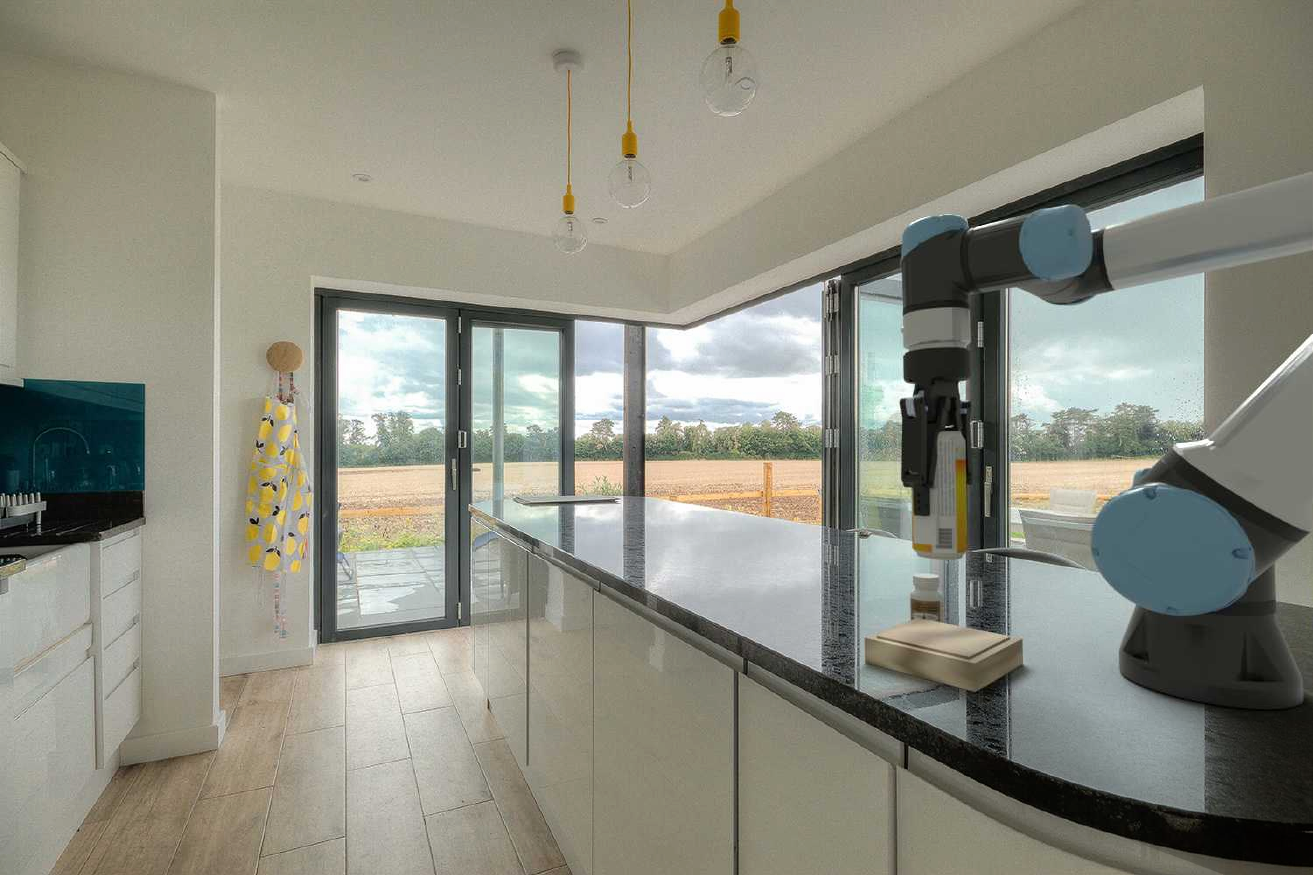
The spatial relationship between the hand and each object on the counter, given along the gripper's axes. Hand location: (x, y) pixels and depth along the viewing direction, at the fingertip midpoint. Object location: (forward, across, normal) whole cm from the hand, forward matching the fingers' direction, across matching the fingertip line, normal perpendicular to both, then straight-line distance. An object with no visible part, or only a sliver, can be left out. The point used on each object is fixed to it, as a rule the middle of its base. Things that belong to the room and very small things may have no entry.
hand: (939, 540), depth 78 cm
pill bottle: (+15, -12, -8) cm, 21 cm away
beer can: (+2, 0, 0) cm, 2 cm away
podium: (+15, 0, 0) cm, 15 cm away
